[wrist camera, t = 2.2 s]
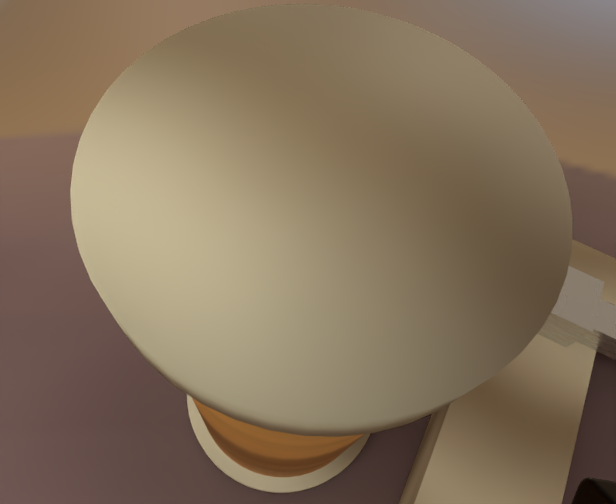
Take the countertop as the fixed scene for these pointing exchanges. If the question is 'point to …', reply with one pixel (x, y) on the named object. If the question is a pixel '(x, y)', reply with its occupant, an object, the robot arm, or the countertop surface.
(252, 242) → the cord reel
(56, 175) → the countertop surface
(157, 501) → the countertop surface
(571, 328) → the cross bar
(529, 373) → the rectangular frame
